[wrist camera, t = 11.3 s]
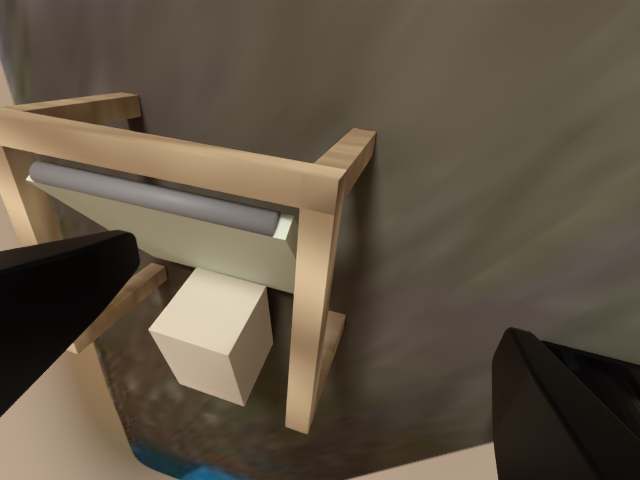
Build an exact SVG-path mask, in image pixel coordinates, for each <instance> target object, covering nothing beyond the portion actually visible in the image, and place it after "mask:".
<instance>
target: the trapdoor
mask: <svg viewBox="0 0 640 480" xmlns="http://www.w3.org/2000/svg"><path fill="white" fill-rule="evenodd" d="M26 181H28V182H30V183H31V184H33V185H35V186H36V187H38V188H40V189H41V190H43V191H45V192H46V193H48V194H50V195H51V196H53V197H55V198H56V199H58V200H60V201H62V202H63V203H65V204H67V205H68V206H70V207H72V208H73V209H75V210H77V211H78V212H80V213H82V214H83V215H85V216H87V217H88V218H90V219H92V220H93V221H95V222H97V223H98V224H100V225H102V226H103V227H105V228H107V229H108V230H110V231H112V230H123V231H127V232H131V233H133V234H134V235H135V237H136V240H137V245H138V248H140V249H142V250H143V251H145V252H147V253H148V254H150V255H152V256H153V257H156V258H160V259H164V260H168V261H172V262H175V263H179V264H183V265H187V266H191V267H194V268H196V267H198V268H202V269H206V270H209V271H213V272H217V273H220V274H224V275H227V276H231V277H235V278H238V279H242V280H246V281H249V282H253V283H257V284H260V285H264V286H266V287H270V288H274V289H278V290H281V291H285V292H289V293H293V294H294V288H295V273H296V258H297V243H298V228H299V227H298V225H297V222H296V220H295V218H294V216H292V215H288V214H283V213H281V212H279V211H274V210H270V209H265V208H260V207H256V206H251V205H246V204H242V203H237V202H232V201H228V200H223V199H218V198H214V197H209V196H204V195H200V194H195V193H190V192H186V191H181V190H176V189H172V188H167V187H162V186H158V185H153V184H148V183H144V182H139V181H134V180H130V179H125V178H120V177H116V176H111V175H106V174H102V173H97V172H92V171H88V170H83V169H78V168H74V167H69V166H64V165H60V164H55V163H50V162H46V161H36V162H34V163H33V164H32V165H31V167H30V169H29V176H28V177H27V179H26Z"/></svg>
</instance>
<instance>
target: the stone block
mask: <svg viewBox="0 0 640 480" xmlns="http://www.w3.org/2000/svg"><path fill="white" fill-rule="evenodd" d="M149 331H150V333H151V335H152V337H153V338H154V340H155V342H156V344H157V345H158V347H159V349H160V351H161V352H162V354H163V356H164V357H165V359H166V361H167V363H168V364H169V366H170V368H171V370H172V371H173V373H174V375H175V376H176V378H177V380H178V382H179V383H180V384H182V385H185V386H188V387H191V388H193V389H196V390H199V391H202V392H205V393H208V394H210V395H213V396H216V397H219V398H222V399H224V400H227V401H230V402H233V403H236V404H239V405H241V406H245V404H246V401H247V399H248V397H249V395H250V393H251V391H252V388H253V386H254V384H255V382H256V380H257V377H258V375H259V373H260V371H261V369H262V366H263V364H264V362H265V360H266V358H267V356H268V353H269V351H270V349H271V347H272V345H273V337H272V329H271V321H270V313H269V305H268V297H267V289H266V286H264V285H260V284H257V283H253V282H249V281H246V280H242V279H238V278H235V277H231V276H227V275H224V274H220V273H217V272H213V271H209V270H206V269H202V268H198V267H196V269H195V270H194V271H193V273H192V274H191V275H190V277H189V278H188V279H187V280H186V282H185V283H184V284H183V286H182V287H181V288H180V290H179V291H178V292H177V293H176V295H175V296H174V297H173V299H172V300H171V301H170V302H169V304H168V305H167V306H166V308H165V309H164V310H163V312H162V313H161V314H160V315H159V317H158V318H157V319H156V321H155V322H154V323H153V325H152V326H151V327H150V328H149Z"/></svg>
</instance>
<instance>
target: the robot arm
mask: <svg viewBox="0 0 640 480" xmlns="http://www.w3.org/2000/svg"><path fill="white" fill-rule="evenodd" d="M139 266H140V255H139V250H138V245H137V240H136V237H135V235H134V234H133V233H131V232H127V231H123V230H112V231H106V232H101V233H96V234H90V235H85V236H79V237H74V238H69V239H63V240H58V241H53V242H47V243H42V244H37V245H31V246H26V247H21V248H15V249H10V250H5V251H0V417H1V416H2V415H3V414H4V413H5V412H6V411H7V410H8V409H9V408H10V407H11V406H12V405H13V404H14V403H15V402H16V401H17V400H18V399H19V398H20V397H21V396H22V395H23V394H24V393H25V391H27V390H28V389H29V387H30V386H31V385H32V384H33V383H34V382H35V381H36V380H37V379H38V378H39V377H40V376H41V375H42V374H43V373H44V372H45V371H46V370H47V369H48V368H49V367H50V366H51V365H52V364H53V363H54V362H55V361H56V360H57V359H58V358H59V357H60V356H61V355H62V354H63V353H64V352H65V351H66V350H67V349H68V348H69V347H70V346H71V345H72V344H73V343H74V341H75V340H76V339H77V338H78V337H79V336H80V335H81V334H82V333H83V332H84V331H85V330H86V329H87V328H88V327H89V326H90V325H91V324H92V323H93V322H94V321H95V320H96V319H97V318H98V317H99V316H100V315H101V313H102V312H103V311H104V310H105V309H106V308H107V306H108V305H109V304H110V303H111V302H112V300H113V299H114V298H115V297H116V295H117V294H118V293H119V292H120V290H121V289H122V288H123V287H124V286H125V284H126V283H127V282H128V281H129V279H130V278H131V277H132V276H133V275H134V273H135V272H136V271H137V269H138V268H139ZM492 414H493V441H494V450H495V458H496V465H497V473H498V480H640V365H637V364H633V363H629V362H625V361H621V360H617V359H613V358H610V357H606V356H602V355H598V354H594V353H590V352H586V351H582V350H578V349H574V348H570V347H566V346H562V345H558V344H554V343H550V342H546V341H540V340H539V339H538V338H537V337H536V336H535V335H534V334H532V333H531V332H529V331H526V330H521V329H517V328H513V327H510V328H508V329H507V330H506V331H505V332H504V334H503V337H502V339H501V341H500V343H499V345H498V347H497V349H496V351H495V354H494V356H493V360H492Z"/></svg>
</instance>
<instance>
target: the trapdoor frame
mask: <svg viewBox="0 0 640 480" xmlns="http://www.w3.org/2000/svg"><path fill="white" fill-rule="evenodd" d="M141 116H142V115H141V109H140V103H139V96H138V95H135V94H128V93H122V92H121V93H113V94H104V95H96V96H88V97H80V98H72V99H64V100H56V101H47V102H39V103H31V104H23V105H15V106H7V107H0V193H1V196H2V198H3V201H4V204H5V206H6V209H7V211H8V214H9V216H10V219H11V222H12V224H13V227H14V229H15V232H16V234H17V237H18V239H19V242H20V245H21V247H26V246H31V245H37V244H42V243H47V242H53V241H58V240H63V239H62V236H61V233H60V230H59V226H58V223H57V220H56V217H55V214H54V211H53V208H52V205H51V201H50V198H49V195H48V193H46V192H45V191H43V190H41V189H40V188H38V187H36V186H35V185H33V184H31V183H30V182H28V181H26V179H27V177H28V176H29V169H30V167H31V165H32V164H33V163H34V162H36V161H37V158H36V155H35V153H38V154H43V155H48V156H53V157H57V158H62V159H67V160H72V161H77V162H81V163H86V164H91V165H96V166H100V167H105V168H110V169H115V170H120V171H124V172H129V173H134V174H139V175H143V176H148V177H153V178H158V179H163V180H167V181H172V182H177V183H182V184H186V185H191V186H196V187H201V188H206V189H210V190H215V191H220V192H225V193H229V194H234V195H239V196H244V197H248V198H253V199H258V200H263V201H268V202H272V203H277V204H282V205H287V206H291V207H296V208H300V213H299V228H298V243H297V258H296V273H295V288H294V303H293V318H292V333H291V348H290V363H289V378H288V393H287V408H286V423H285V427H288V428H290V429H293V430H296V431H299V432H302V433H305V434H308V432H309V429H310V426H311V423H312V420H313V417H314V414H315V411H316V408H317V405H318V402H319V399H320V396H321V394H322V391H323V388H324V385H325V382H326V379H327V376H328V373H329V370H330V367H331V364H332V361H333V358H334V355H335V352H336V349H337V346H338V343H339V341H340V338H341V335H342V332H343V329H344V324H345V318H346V315H344V314H341V313H337V312H333V311H330V310H329V302H330V295H331V287H332V279H333V272H334V264H335V257H336V249H337V242H338V234H339V227H340V219H341V212H342V204H343V201H344V199H345V198H346V196H347V195H348V193H349V192H350V190H351V188H352V187H353V185H354V184H355V182H356V181H357V179H358V177H359V176H360V174H361V173H362V171H363V169H364V168H365V166H366V165H367V163H368V162H369V160H370V158H371V157H372V155H373V150H374V144H375V138H376V132H375V131H368V130H362V129H355V128H353V129H352V130H351V131H350V132H348V133H347V134H346V135H345V136H344V137H343V138H342V139H341V140H340V141H338V142H337V143H336V144H335V145H334V146H333V147H332V148H331V149H329V150H328V151H327V152H326V153H325V154H324V155H323V156H322V157H320V158H319V159H318V160H317V161H316V162H315V163H314V164H312V163H307V162H301V161H296V160H290V159H284V158H279V157H273V156H268V155H262V154H257V153H251V152H246V151H240V150H234V149H229V148H223V147H218V146H212V145H207V144H201V143H195V142H190V141H184V140H179V139H173V138H168V137H162V136H157V135H151V134H145V133H140V132H134V131H129V130H123V129H118V128H112V127H107V126H101V125H103V124H108V123H112V122H117V121H122V120H126V119H131V118H136V117H141ZM166 280H167V274H166V267H165V266H162V265H158V264H155V263H151V264H150V265H148V266H147V267H145V268H144V269H143V270H141V271H140V272H139V273H137V274H136V275H135V276H133V277H132V278H130V279H129V281H128V282H127V283H126V284H125V286H124V287H123V288H122V289H121V290H120V292H119V293H118V294H117V295H116V297H115V298H114V299H113V300H112V302H111V303H110V304H109V305H108V306H107V308H106V309H105V310H104V311H103V312H102V313H101V315H100V316H99V317H98V318H97V319H96V320H95V321H94V322H93V323H92V324H91V325H90V326H89V327H88V328H87V329H86V330H85V331H84V332H83V333H82V334H81V335H80V336H79V337H78V338H77V339H76V340H75V341H74V343H73V344H72V345H71V346H70V347H69V348H68V349H67V351H70V352H73V353H76V354H78V353H80V352H81V351H82V350H83V349H84V348H86V347H87V346H88V345H89V344H90V343H92V342H93V341H94V340H95V339H96V338H98V337H99V336H100V335H101V334H102V333H104V332H105V331H106V330H107V329H108V328H110V327H111V326H112V325H113V324H114V323H116V322H117V321H118V320H119V319H120V318H121V317H123V316H124V315H125V314H126V313H127V312H129V311H130V310H131V309H132V308H133V307H135V306H136V305H137V304H138V303H139V302H141V301H142V300H143V299H144V298H145V297H147V296H148V295H149V294H150V293H151V292H153V291H154V290H155V289H156V288H157V287H159V286H160V285H161V284H162V283H163V282H165V281H166ZM328 310H329V311H328Z"/></svg>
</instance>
